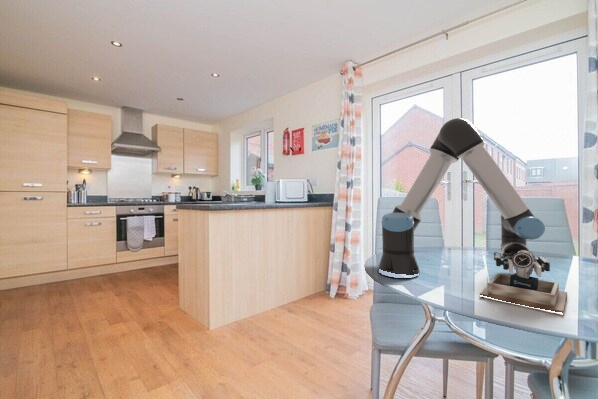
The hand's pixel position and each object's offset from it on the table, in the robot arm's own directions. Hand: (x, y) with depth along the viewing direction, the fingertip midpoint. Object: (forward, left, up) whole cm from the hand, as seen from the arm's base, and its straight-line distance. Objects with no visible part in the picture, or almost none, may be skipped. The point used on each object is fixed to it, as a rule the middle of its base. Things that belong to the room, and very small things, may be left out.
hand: (525, 270), depth 77 cm
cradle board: (+3, +4, -9) cm, 11 cm away
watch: (+3, +4, -7) cm, 8 cm away
